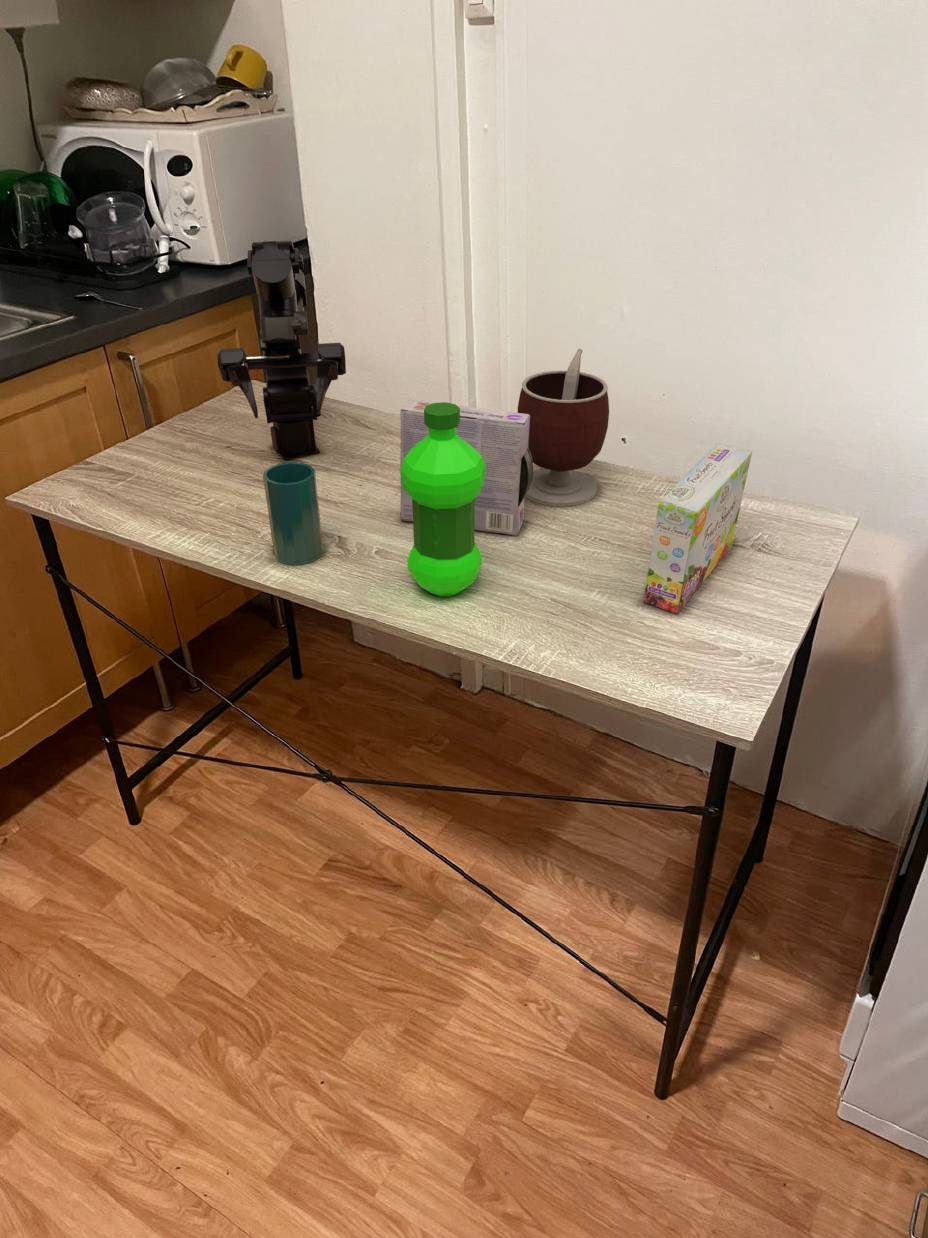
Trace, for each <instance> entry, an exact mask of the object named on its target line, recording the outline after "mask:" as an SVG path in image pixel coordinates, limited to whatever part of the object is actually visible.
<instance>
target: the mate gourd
mask: <svg viewBox="0 0 928 1238" xmlns="http://www.w3.org/2000/svg"><path fill="white" fill-rule="evenodd" d="M582 354H583V349H581V348H578V349H577V351H576V352H575V354H574V355H573V358H572V359H571V361H570V363H569V365H568V367H567V369H566V370H549V371H542V372H537V373H535V374H531V375H529V376H528V377H526V378H524V379H523V381H522V382H521V389H520V393H519V398H518V402H517V413H523V414H529V415H530V426H529V439H528V448H529V450H530V453H531V456H532V461H533V465H535V466H537V467H539V468H542V469H538V470H533V478H532V482H531V485H530V488H529V490H528V492H527V494H526V495H525V498H526V499H528V500H529V501H531V502H534V503H537V504H539V505H543V506H550V507H560V508H561V507H563V508H564V507H573V506H579V505H582V504H585V503H588V502H589V501H592V500H593V499H594V497H595V496H596V495H597V492H598V484H597V482H596V480H595V479H594V478H593V477H591V476H590V475H588V474H586V473H584V472H581V471H578V470H579V469H583V468H585V467H587V466H588V465H590V463H592V461H593V460H594V459H595V458H597V457H598V455H599V454H600V452H602V448H603V446H604V443H605V440H606V436H607V433H608V429H609V419H610V402H609V401H610V400H609V393H608V391H609V390H608V389H609V387H608V384H607V382H606V381H604V380H603V378H600V377H598V376H596V375H594V374H590V373H587V372H581V361H582V360H581V359H582Z"/></svg>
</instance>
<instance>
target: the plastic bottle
mask: <svg viewBox="0 0 928 1238" xmlns="http://www.w3.org/2000/svg"><path fill="white" fill-rule="evenodd" d="M432 403H433V404H430V405H427V406H426V407H425V409H424V424H425V425H426V426H427V427H428V428H429V435H428V436H426V437H425V438H423V439H422V440H421V441H420V442H418V443H417V444H416V445H415V446H414V447H413V448H411V449H410V451H409V452H408V454H407V455H406V457H405V458H404V460H403V463H402V466H401V469H400V471H399V472H401V475H400V482H401V481H402V485H403V488H404V490H405V491H406V492H407V493H408V494H409V495H410V497H411V498H412V509H413V521H412V532H413V533H412V534H413V545H412V548H411V549H410V552H409V554H408V556H407V560H406V561H407V562H406V564H407V569H408V571H409V573H410V575H411V576H412V578H413V579H414V580H415V582H416V583H417V584H418V586H419V587H420V588H422V589H424V590H425V591H427V592H429V593H430V594H432V595H434V596H435V595H436V596H438V597H453V596H455V595H457V594H460V593H461V592H463V591H464V590H465V589H466V588H468V587H470V586H471V585H472V584H473V583H475V580H476V579H477V576H478V574H479V572H480V569H481V567H482V563H483V562H482V561H483V556H482V553H481V551H480V548H479V546H478V545H477V544H476V541H475V540H476V535H475V534H476V530H475V498H476V497H477V496H478V494H479V492H480V490H481V488H482V486H483V482H484V478H485V463H484V461H483V458H482V456H481V455H480V454H479V453H478V452H477V451H476V450H475V449H474V448H472V447H471V446H470V445H469V444H468V443H467V442H465V441H464V440H463V439H462V438H460V437H459V436H457V435H456V427H458V425H459V423H460V408H459V407H458V406H459V405H457V404H456V403H451V402H448V401H447V402H446V401H445V402H432Z"/></svg>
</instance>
